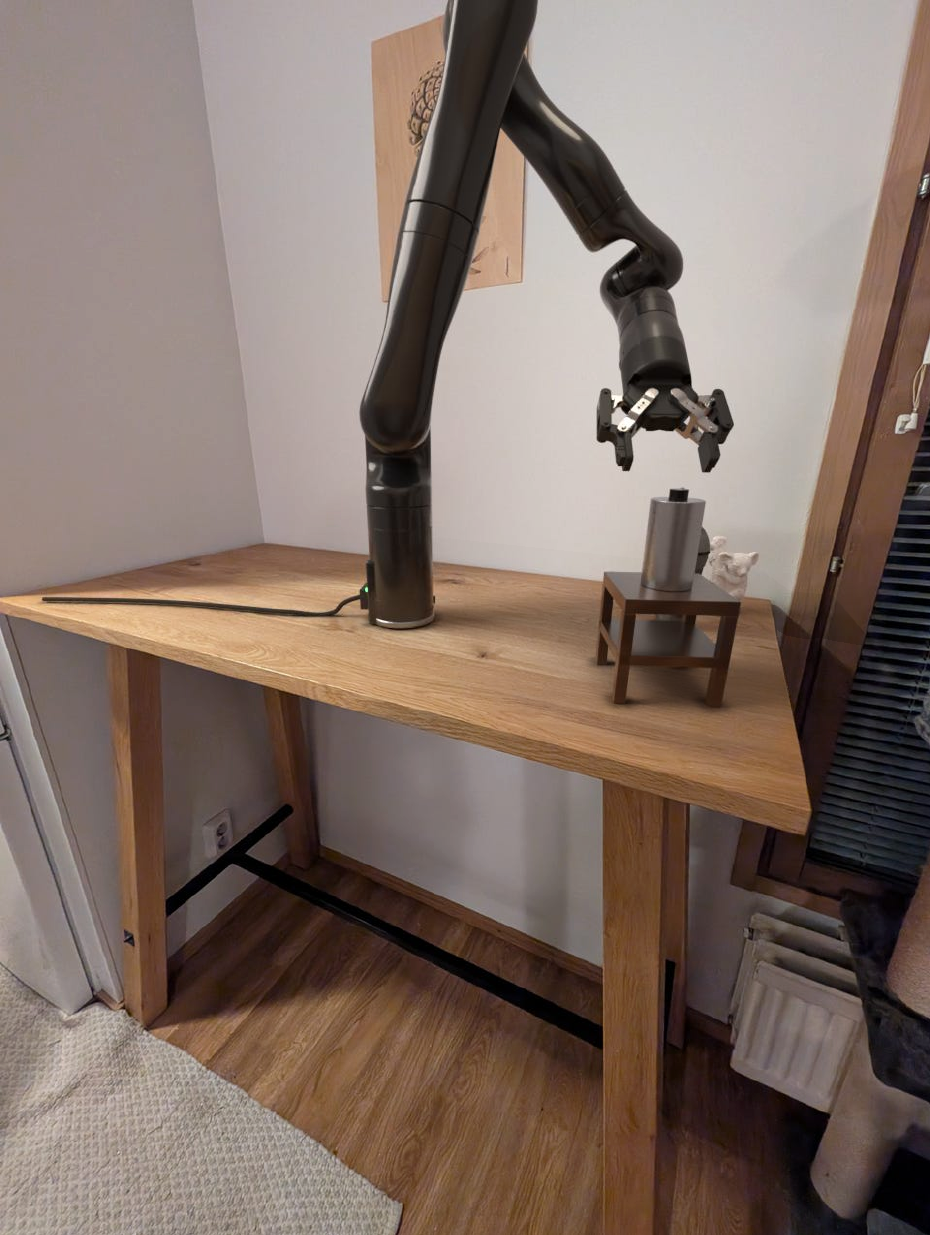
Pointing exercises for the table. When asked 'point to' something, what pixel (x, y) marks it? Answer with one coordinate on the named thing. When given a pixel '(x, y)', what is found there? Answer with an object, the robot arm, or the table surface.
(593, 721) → the table surface
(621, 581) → the stand
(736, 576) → the koala figurine
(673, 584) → the silver metal canister
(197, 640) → the table surface
